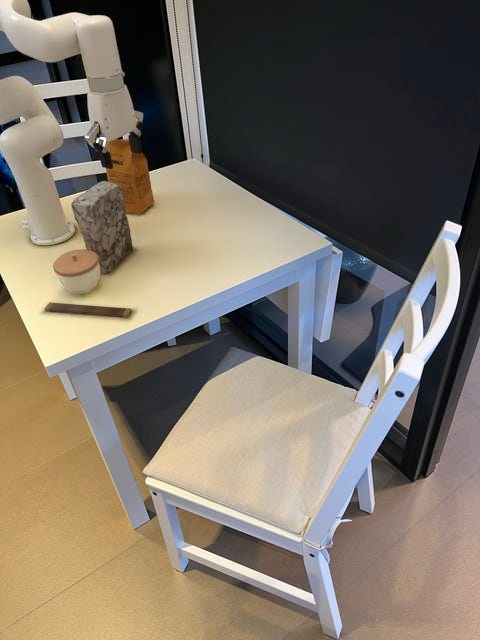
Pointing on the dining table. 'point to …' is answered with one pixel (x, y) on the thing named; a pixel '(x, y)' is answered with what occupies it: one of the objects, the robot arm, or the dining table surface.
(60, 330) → the dining table surface
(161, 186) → the dining table surface
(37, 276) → the dining table surface
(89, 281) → the trinket box
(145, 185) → the coffee package
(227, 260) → the dining table surface
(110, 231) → the stone block
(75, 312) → the walnut straight-edge
